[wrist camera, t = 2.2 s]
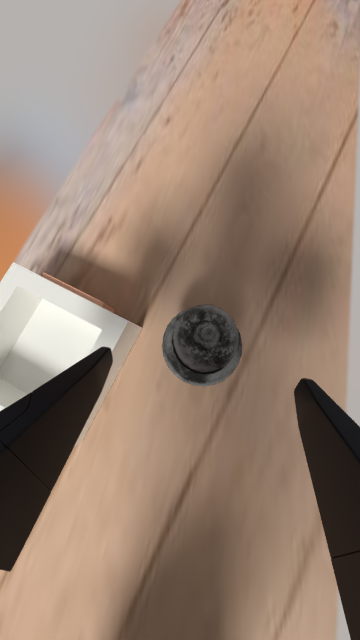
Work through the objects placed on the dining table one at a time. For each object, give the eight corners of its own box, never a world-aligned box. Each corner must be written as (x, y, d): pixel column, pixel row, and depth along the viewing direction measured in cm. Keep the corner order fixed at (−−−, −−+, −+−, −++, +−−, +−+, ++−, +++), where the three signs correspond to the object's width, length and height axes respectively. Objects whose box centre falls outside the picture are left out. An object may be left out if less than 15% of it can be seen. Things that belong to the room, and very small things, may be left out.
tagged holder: (144, 324, 20) (131, 316, 16) (82, 441, 18) (50, 464, 14) (49, 276, 21) (15, 258, 17) (-15, 380, 20) (-67, 387, 16)
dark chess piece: (222, 307, 19) (262, 232, 8) (242, 370, 18) (326, 396, 6) (161, 325, 19) (108, 278, 8) (178, 388, 18) (145, 446, 7)
